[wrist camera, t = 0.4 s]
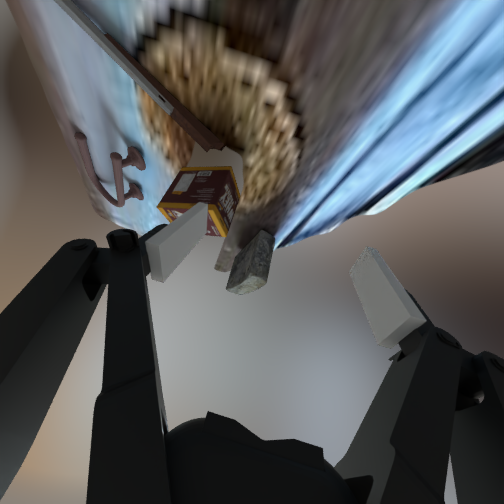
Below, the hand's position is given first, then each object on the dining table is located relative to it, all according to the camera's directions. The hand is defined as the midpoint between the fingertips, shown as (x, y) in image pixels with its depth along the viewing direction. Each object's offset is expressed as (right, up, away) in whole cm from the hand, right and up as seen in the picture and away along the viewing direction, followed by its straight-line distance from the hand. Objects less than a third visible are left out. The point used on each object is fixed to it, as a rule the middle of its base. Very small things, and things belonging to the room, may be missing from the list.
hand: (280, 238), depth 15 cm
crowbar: (-23, +34, +18) cm, 45 cm away
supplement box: (-14, +20, +38) cm, 45 cm away
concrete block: (-1, +3, +62) cm, 62 cm away
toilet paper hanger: (-45, +26, +42) cm, 67 cm away
